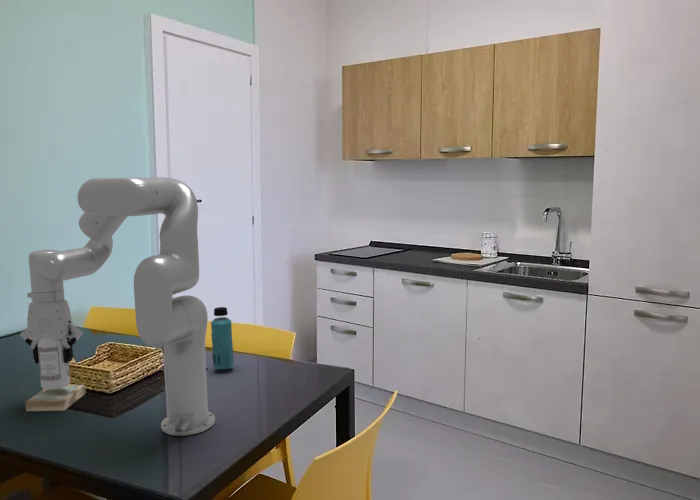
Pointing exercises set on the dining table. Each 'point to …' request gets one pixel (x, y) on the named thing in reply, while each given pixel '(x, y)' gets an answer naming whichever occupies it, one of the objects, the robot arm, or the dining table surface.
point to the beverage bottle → (222, 340)
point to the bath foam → (52, 364)
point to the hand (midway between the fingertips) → (53, 361)
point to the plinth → (55, 398)
